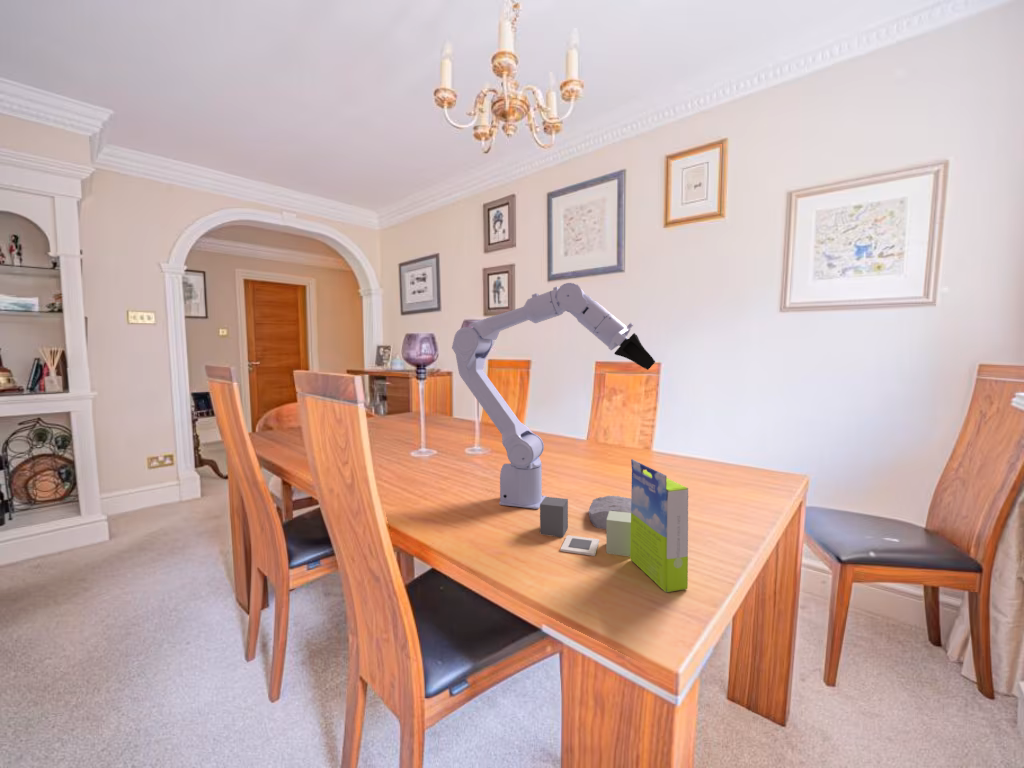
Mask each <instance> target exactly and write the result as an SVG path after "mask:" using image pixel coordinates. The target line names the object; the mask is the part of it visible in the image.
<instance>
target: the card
mask: <svg viewBox="0 0 1024 768" xmlns="http://www.w3.org/2000/svg"><path fill="white" fill-rule="evenodd" d="M599 544H600V539H599V538H594V537H593V538H592V537H584V536H577V535H570V534H569V535H566V537H565V539H564V541H563V542H562V544H561V547H560V550H559V551H560V552H564V553H572V554H576V555H577V554H579V555H584V556H585V555H586V556H593V557H595V556H596V553H597V551H598V550H597V549H598V547H599Z"/></svg>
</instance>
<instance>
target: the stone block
mask: <svg viewBox="0 0 1024 768" xmlns="http://www.w3.org/2000/svg"><path fill="white" fill-rule="evenodd" d="M609 511H617V512H626V513H631V497H625V496H619V495H606V496H599V497H596V498H594V499H593V500H592V503H591V504H590V505H589V509H588V514H589V516H588V517H589V521H590V523H592V526H594V527H595V528H596V529H602V530H606V527H607V517H608V513H609Z"/></svg>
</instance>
